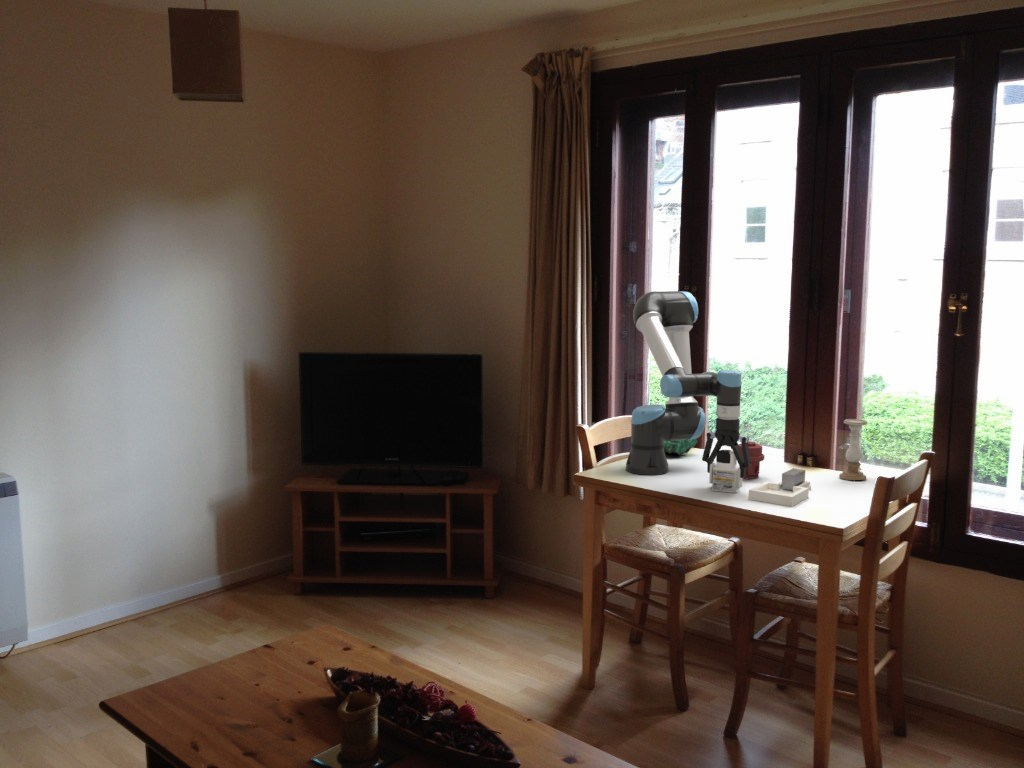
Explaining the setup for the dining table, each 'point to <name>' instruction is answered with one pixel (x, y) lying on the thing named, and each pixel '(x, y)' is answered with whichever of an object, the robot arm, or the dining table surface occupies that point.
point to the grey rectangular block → (793, 478)
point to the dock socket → (779, 493)
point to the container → (725, 472)
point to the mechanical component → (753, 459)
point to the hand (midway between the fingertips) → (725, 485)
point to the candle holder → (853, 451)
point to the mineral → (679, 446)
